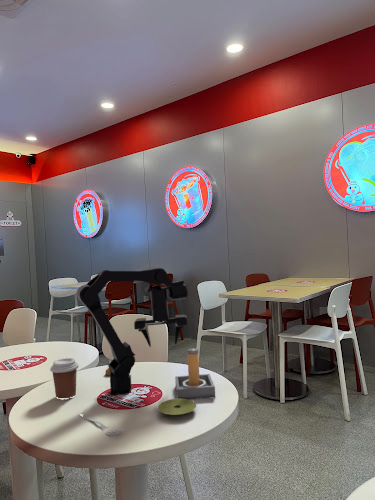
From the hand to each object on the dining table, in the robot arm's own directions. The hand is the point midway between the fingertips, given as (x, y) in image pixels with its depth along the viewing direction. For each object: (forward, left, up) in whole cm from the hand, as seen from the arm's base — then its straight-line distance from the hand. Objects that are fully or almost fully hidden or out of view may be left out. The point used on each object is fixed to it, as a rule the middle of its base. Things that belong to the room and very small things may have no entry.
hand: (163, 345), depth 137 cm
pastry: (-18, +15, -14) cm, 27 cm away
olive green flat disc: (+3, -26, -13) cm, 29 cm away
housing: (+10, -12, -13) cm, 20 cm away
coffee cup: (-33, -7, -13) cm, 37 cm away
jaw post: (+10, -12, -12) cm, 19 cm away
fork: (-20, -29, -14) cm, 38 cm away
